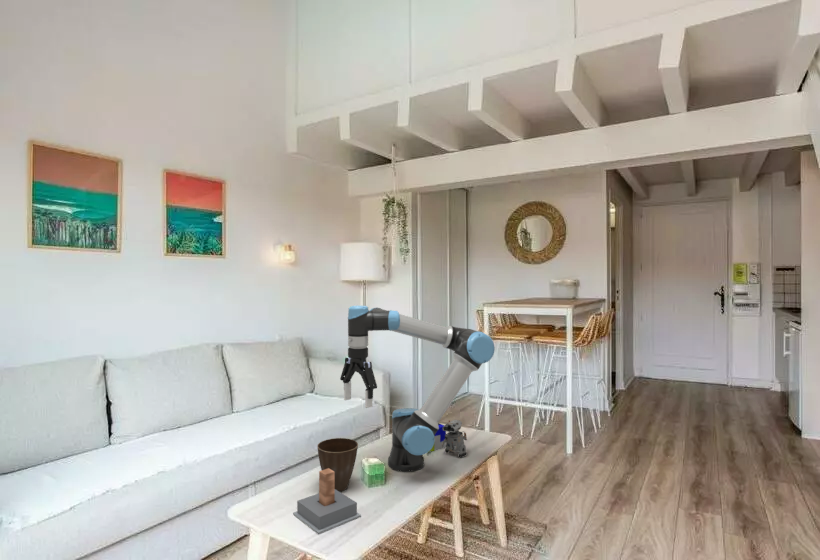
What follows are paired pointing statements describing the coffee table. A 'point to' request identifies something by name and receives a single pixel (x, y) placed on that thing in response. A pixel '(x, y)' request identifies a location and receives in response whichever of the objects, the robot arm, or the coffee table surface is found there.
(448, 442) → the figurine
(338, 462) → the plant pot
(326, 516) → the socket block
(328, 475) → the peg
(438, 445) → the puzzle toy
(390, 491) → the coffee table surface
